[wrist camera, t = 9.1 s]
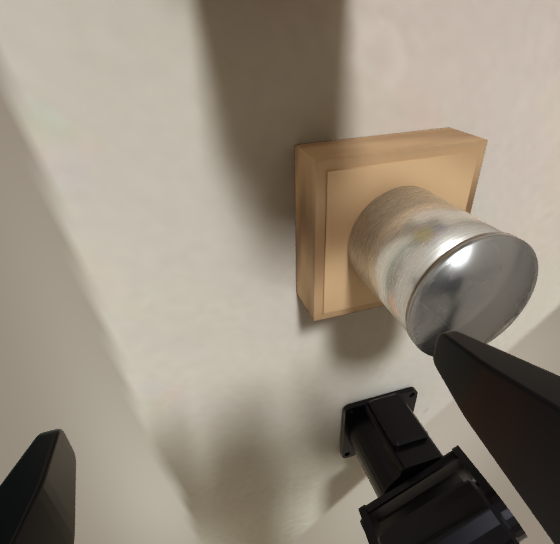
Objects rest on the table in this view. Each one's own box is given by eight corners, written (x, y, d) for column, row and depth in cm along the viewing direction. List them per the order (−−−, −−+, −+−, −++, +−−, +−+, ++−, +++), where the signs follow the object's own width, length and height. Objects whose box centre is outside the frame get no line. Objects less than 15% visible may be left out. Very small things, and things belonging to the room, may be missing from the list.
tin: (435, 274, 23) (514, 340, 18) (342, 293, 22) (401, 371, 17) (455, 176, 20) (557, 225, 15) (348, 192, 19) (423, 251, 14)
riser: (423, 266, 27) (453, 291, 24) (296, 292, 25) (314, 322, 22) (448, 127, 22) (489, 140, 20) (294, 145, 20) (317, 162, 18)
